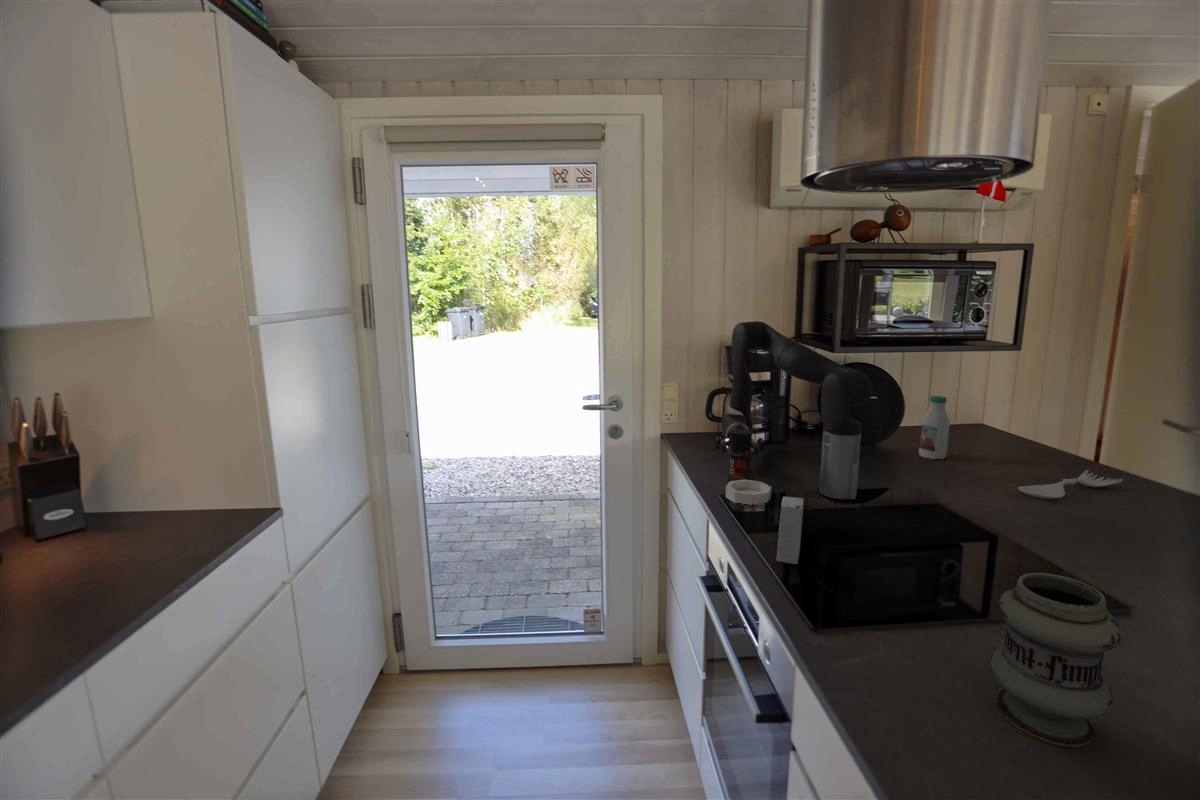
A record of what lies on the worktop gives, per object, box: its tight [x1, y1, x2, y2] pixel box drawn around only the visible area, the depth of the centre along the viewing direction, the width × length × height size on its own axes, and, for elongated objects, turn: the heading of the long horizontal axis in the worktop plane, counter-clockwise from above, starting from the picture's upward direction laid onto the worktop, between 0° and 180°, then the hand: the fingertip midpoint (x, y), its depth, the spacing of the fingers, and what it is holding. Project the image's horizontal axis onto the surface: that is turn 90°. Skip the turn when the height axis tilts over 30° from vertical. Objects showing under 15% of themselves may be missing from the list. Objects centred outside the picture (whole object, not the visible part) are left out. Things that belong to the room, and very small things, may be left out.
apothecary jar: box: [990, 572, 1122, 748], centre depth 71 cm, size 12×12×18 cm
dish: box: [725, 479, 772, 506], centre depth 150 cm, size 11×11×3 cm
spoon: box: [1017, 469, 1124, 500], centre depth 152 cm, size 9×32×4 cm, turn 110°
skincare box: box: [775, 496, 805, 565], centre depth 115 cm, size 6×4×12 cm
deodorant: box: [727, 429, 753, 483], centre depth 161 cm, size 6×6×15 cm
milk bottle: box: [918, 395, 950, 460], centre depth 183 cm, size 8×8×20 cm
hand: (740, 450), depth 162 cm, fingers open, 8 cm apart
